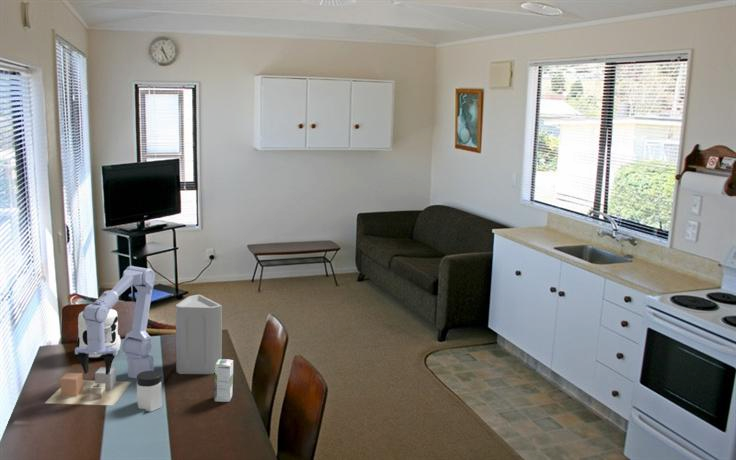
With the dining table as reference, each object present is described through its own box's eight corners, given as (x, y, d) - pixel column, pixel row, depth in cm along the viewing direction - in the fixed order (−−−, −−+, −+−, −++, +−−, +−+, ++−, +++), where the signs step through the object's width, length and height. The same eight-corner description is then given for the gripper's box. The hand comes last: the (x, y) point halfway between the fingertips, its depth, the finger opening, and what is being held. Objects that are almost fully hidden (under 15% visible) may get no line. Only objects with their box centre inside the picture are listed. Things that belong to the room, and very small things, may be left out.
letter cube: (105, 393, 242) (105, 383, 241) (101, 398, 238) (101, 387, 237) (94, 393, 242) (94, 382, 241) (90, 398, 238) (89, 387, 237)
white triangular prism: (166, 365, 272) (166, 300, 267) (199, 357, 282) (199, 294, 277) (188, 380, 259) (188, 312, 253) (222, 371, 269) (222, 305, 263)
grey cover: (116, 383, 251) (115, 367, 249) (110, 390, 245) (110, 373, 244) (101, 383, 250) (100, 367, 249) (95, 389, 245) (95, 373, 244)
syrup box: (217, 395, 247) (217, 358, 245) (233, 395, 248) (233, 359, 245) (214, 401, 242) (214, 364, 239) (230, 402, 242) (230, 365, 239)
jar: (163, 409, 234) (162, 378, 232) (139, 413, 230) (138, 381, 228) (159, 399, 242) (158, 368, 239) (135, 402, 238) (135, 371, 236)
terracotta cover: (83, 389, 244) (82, 373, 243) (76, 396, 239) (76, 379, 238) (67, 389, 244) (67, 372, 243) (61, 395, 239) (60, 378, 237)
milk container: (91, 344, 290) (89, 305, 287) (128, 348, 288) (127, 309, 285) (68, 359, 273) (66, 318, 270) (107, 363, 271) (106, 321, 268)
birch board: (131, 384, 253) (131, 381, 253) (113, 407, 234) (113, 405, 233) (68, 382, 252) (68, 379, 252) (44, 405, 233) (44, 403, 232)
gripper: (70, 340, 231) (72, 376, 234) (112, 341, 232) (113, 378, 235) (78, 333, 238) (80, 368, 241) (119, 335, 239) (120, 370, 241)
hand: (97, 372), depth 238 cm, fingers open, 7 cm apart
